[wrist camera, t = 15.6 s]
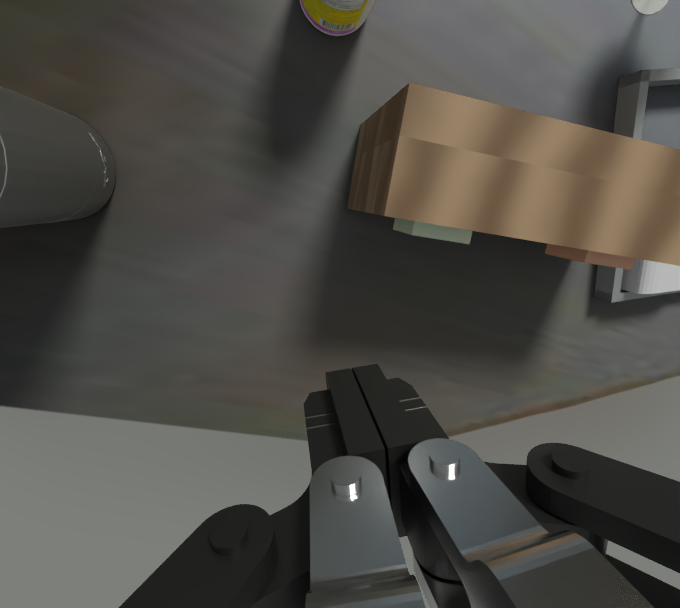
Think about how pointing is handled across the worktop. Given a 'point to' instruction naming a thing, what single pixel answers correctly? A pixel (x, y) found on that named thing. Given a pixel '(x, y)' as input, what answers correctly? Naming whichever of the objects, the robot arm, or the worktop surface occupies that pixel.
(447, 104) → the panel
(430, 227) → the button sage
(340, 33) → the supplement bottle
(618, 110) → the counter rail frame
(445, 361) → the worktop surface
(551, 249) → the button terracotta
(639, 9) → the wineglass
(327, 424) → the robot arm
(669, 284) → the charger
